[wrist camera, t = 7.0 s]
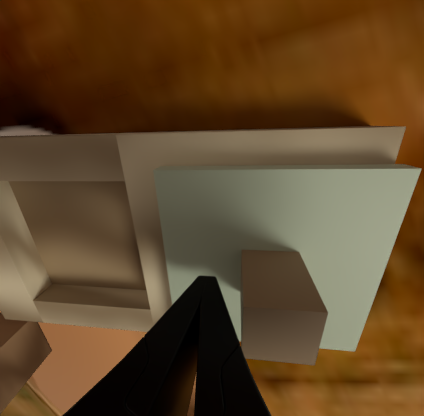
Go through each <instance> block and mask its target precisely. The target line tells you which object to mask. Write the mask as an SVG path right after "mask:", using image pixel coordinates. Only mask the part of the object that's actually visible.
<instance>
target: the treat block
mask: <svg viewBox="0 0 424 416" xmlns="http://www.w3.org/2000/svg"><path fill="white" fill-rule="evenodd" d="M51 351H52V349H51V347H50V345H49V343H48V341H47V339H46V337H45V335H44V333H43V331H42V329H41V328H40V325H39V324H38V322H32V321H21V320H10V319H5V318H4V316H3V314H2V313H1V312H0V414H1V413H2V411H3V410H4V409H5V408H6V406H7V405H8V404H9V403H10V401H11V400H12V399H13V398H14V397H15V395H16V394H17V393H18V392H19V390H20V389H21V388H22V387H23V385H24V384H25V383H26V382H27V381H28V379H29V378H30V377H31V376H32V374H33V373H34V372H35V371H36V369H37V368H38V367H39V366H40V365H41V363H42V362H43V361H44V359H45V358H46V357H47V356H48V355H49V353H50V352H51Z"/></svg>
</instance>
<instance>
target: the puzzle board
mask: <svg viewBox="0 0 424 416" xmlns="http://www.w3.org/2000/svg"><path fill="white" fill-rule="evenodd" d="M405 128H406V127H399V126H349V127H314V128H279V129H244V130H209V131H173V132H138V133H103V134H68V135H33V136H0V311H1V313H2V314H3V316H4V318H5V319H10V320H21V321H32V322H43V323H55V324H66V325H77V326H88V327H100V328H111V329H121V330H133V331H143V332H148V331H149V330H150V329H151V328H152V327H153V326H154V324H155V323H156V322H157V321H158V320H159V319H160V318H161V317H162V316H163V315H164V313H165V312H166V311H167V310H168V309H169V308H170V307H171V306H172V300H171V293H170V286H169V279H168V272H167V265H166V258H165V251H164V244H163V236H162V229H161V222H160V215H159V208H158V201H157V194H156V187H155V180H154V173H153V170H154V169H156V168H158V167H160V166H242V165H364V164H395V161H396V157H397V154H398V151H399V148H400V145H401V141H402V138H403V135H404V132H405Z"/></svg>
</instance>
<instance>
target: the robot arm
mask: <svg viewBox="0 0 424 416" xmlns="http://www.w3.org/2000/svg"><path fill="white" fill-rule="evenodd" d="M144 337H145V338H144ZM144 337H143V338H142V339H141V340H140V341H139V342H138V343H137V344H136V346H135V347H134V348H133V349H132V350H131V351H130V352H129V353H128V354H127V355H126V356H125V357H124V358H123V359H122V360H121V361H120V362H119V363H118V364H117V365H116V366H115V367H114V368H113V369H112V370H111V371H110V372H109V373H108V374H107V375H106V376H105V377H104V378H102V379H101V380H100V381H99V382H98V383H97V384H96V385H95V386H94V387H93V388H92V389H91V390H89V391H88V392H87V393H86V394H85V395H84V396H83V397H82V398H81V399H80V400H79V401H78V402H77V403H76V404H75V405H73V406H72V407H71V408H70V409H69V410H68V411H67V412H66V413H65V414H64V415H62V416H187V412H188V408H189V403H190V399H191V394H192V390H193V385H194V381H195V376H196V392H195V410H194V416H271V414H270V412H269V410H268V408H267V406H266V404H265V402H264V400H263V398H262V396H261V394H260V392H259V390H258V387H257V385H256V383H255V381H254V379H253V376H252V374H251V372H250V369H249V367H248V364H247V362H246V359H245V357H244V354H243V351H242V348H241V346H240V343H239V340H238V337H237V334H236V332H235V329H234V326H233V323H232V320H231V317H230V315H229V312H228V309H227V306H226V303H225V301H224V298H223V295H222V292H221V289H220V286H219V284H218V281H217V278H216V277H215V276H201V275H200V276H198V277H197V278H196V279H195V280H194V281H193V282H192V283H191V285H190V286H189V287H188V288H187V289H186V290H185V291H184V292H183V293H182V295H181V296H180V297H179V298H178V299H177V300H176V301H175V302H174V303H173V305H172V306H171V307H170V308H169V309H168V310H167V311H166V312H165V313H164V315H163V316H162V317H161V318H160V319H159V320H158V321H157V322H156V323H155V324H154V326H153V327H152V328H151V329H150V330H149V331H148V332H147V333H146V334H145V336H144ZM196 372H197V373H196Z"/></svg>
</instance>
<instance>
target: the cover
mask: <svg viewBox="0 0 424 416" xmlns="http://www.w3.org/2000/svg"><path fill="white" fill-rule="evenodd" d="M420 171H421V168H417V167H413V166H409V165H405V164H364V165H242V166H160V167H158V168H156V169H154V170H153V173H154V180H155V187H156V194H157V201H158V208H159V215H160V222H161V229H162V236H163V244H164V251H165V258H166V265H167V272H168V279H169V286H170V293H171V300H172V305H173V303H174V302H175V301H176V300H177V299H178V298H179V297H180V296H181V295H182V293H183V292H184V291H185V290H186V289H187V288H188V287H189V286H190V285H191V283H192V282H193V281H194V280H195V279H196V278H197V277H198V276H200V275H201V276H215V277H216V278H217V281H218V284H219V286H220V289H221V292H222V295H223V298H224V301H225V303H226V306H227V309H228V312H229V315H230V317H231V320H232V323H233V326H234V329H235V332H236V334H237V337H238V340H239V341H241V348H242V351H243V354H244V357H245V358H247V359H257V360H267V361H277V362H287V363H297V364H307V365H315V362H316V358H317V354H318V350H319V348H322V349H334V350H345V351H355V350H356V347H357V344H358V341H359V339H360V336H361V333H362V330H363V328H364V325H365V322H366V319H367V317H368V314H369V311H370V309H371V306H372V303H373V300H374V298H375V295H376V292H377V289H378V287H379V284H380V281H381V278H382V276H383V273H384V270H385V267H386V265H387V262H388V259H389V256H390V254H391V251H392V248H393V245H394V243H395V240H396V237H397V235H398V232H399V229H400V226H401V224H402V221H403V218H404V215H405V213H406V210H407V207H408V204H409V202H410V199H411V196H412V193H413V191H414V188H415V185H416V182H417V180H418V177H419V174H420Z"/></svg>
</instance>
